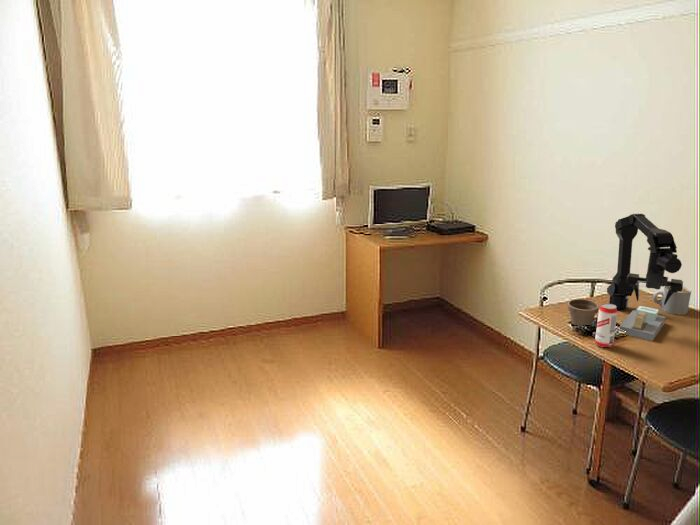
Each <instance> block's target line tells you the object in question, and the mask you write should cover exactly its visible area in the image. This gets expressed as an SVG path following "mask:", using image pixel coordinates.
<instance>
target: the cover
mask: <svg viewBox="0 0 700 525" xmlns="http://www.w3.org/2000/svg"><path fill="white" fill-rule="evenodd" d="M659 310H660V309H657V308H653V307H647V306H642V305H639V306H638V307H637V308H636V316H637V314H638V312H640V311H642V312H647V316H646V319H649V320H654V321H655V320H656V318H657V317H658V315H659V313H660V312H659Z"/></svg>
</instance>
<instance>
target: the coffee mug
mask: <svg viewBox="0 0 700 525" xmlns="http://www.w3.org/2000/svg"><path fill="white" fill-rule="evenodd" d="M668 288H669V286H664V287H663V290H656V291H654V293H653V296H652V297H653V298H652V299H653V302H654V303H655V304H657V305H659V306H660V310H661V311H662V312H664V313H666V312H667V314H669V313H670V315H674V314H678V315H677V316H681V315H680V314H684V315H687V314H688V311H689V305H690V300H691V296H692V289H691V288H690V287H688V286H685V285H683V288H682V291H678V292H677V293H673V294H672V295H671V296H670V298H669V300H668V301H667V303H666V305H664V302H665V298H666V295H667V292H668ZM659 295H661V299H660V300H659V299H657V297H658V296H659ZM686 313H687V314H686Z"/></svg>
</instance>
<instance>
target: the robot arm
mask: <svg viewBox="0 0 700 525" xmlns="http://www.w3.org/2000/svg"><path fill="white" fill-rule="evenodd" d="M614 228H615V234H616V236H617V237H618V240H619V242H618V243H619V244H618V256H617V272H616V273H615V275H614V276H613V277H612V281H611V284H610V285H608V287H607V288H606V293H607V294H608V295H609V304H613V305H615V306H616V309H617V311H619V312H624V311H625V310H626V309H627V308H628V305H629V298H628V297H632V296H633V293H634V294H635V299H636V301H637V302H638V301H639V298H640V283H644V284H645V288H647V289H654V290H660V289H661V287H663V288H664V286H669V288H668V292H667V295H666V298H665V302H664V305H666V303H667V301H668V300H669V298H670V296H671V295H672V294H673V293H677V292H678V291H682V288H683V286H684V281H683V279H676V278H671V279H670V280H669V277H668V276H665V271H666V272H667V273H669V274H676V273H678V272H679V271H680V270H681V269H682V266H683V264H682V261H681V260H680V258H678V254H677V253H678V252H677V251H678V250H677V248H678V247H677V244H676V242H675V238H674V235H673V234H672V233H671V232H670V231H668V230H666V229H662V228H659V227H657V225H655V224H654V223H653V222H652V221H650V219H649V218H647V217H646V214H643V213H632V214H629V215H628V216H625V217H622V218H619V219H618V220H617V221H615V223H614ZM639 231H640V232H641V233H643V235H644V236H645V237H646V238H647V239H646V242H647V243H648V245H649V247H647V250H648V251H649V256H648V262H647V263H648V264H647V268H646V269H647V270H646V275H645V277H642V276H641V277H640V274H638V273H631V265H632V264H631V263H632V252H633V240H635V237H636V236H637V235H638V232H639Z"/></svg>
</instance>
